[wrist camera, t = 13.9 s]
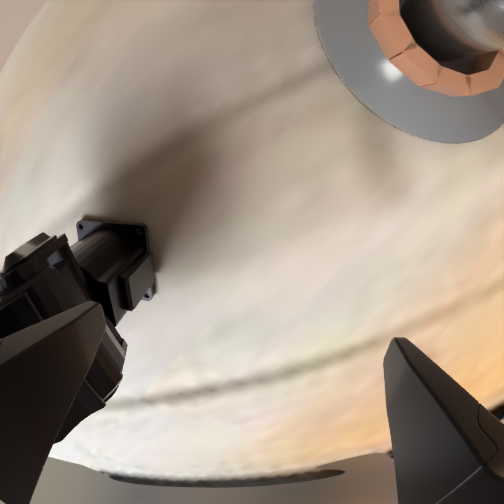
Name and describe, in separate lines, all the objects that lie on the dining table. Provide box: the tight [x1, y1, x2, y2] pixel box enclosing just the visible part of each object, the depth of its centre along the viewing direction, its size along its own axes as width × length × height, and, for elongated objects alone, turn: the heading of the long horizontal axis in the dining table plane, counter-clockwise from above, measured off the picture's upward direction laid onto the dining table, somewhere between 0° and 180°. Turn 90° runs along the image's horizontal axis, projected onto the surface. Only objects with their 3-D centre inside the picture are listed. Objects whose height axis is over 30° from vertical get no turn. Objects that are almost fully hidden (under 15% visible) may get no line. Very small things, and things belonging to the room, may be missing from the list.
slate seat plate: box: [314, 0, 504, 144], centre depth 12 cm, size 16×16×4 cm
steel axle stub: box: [400, 0, 504, 62], centre depth 8 cm, size 5×5×11 cm
